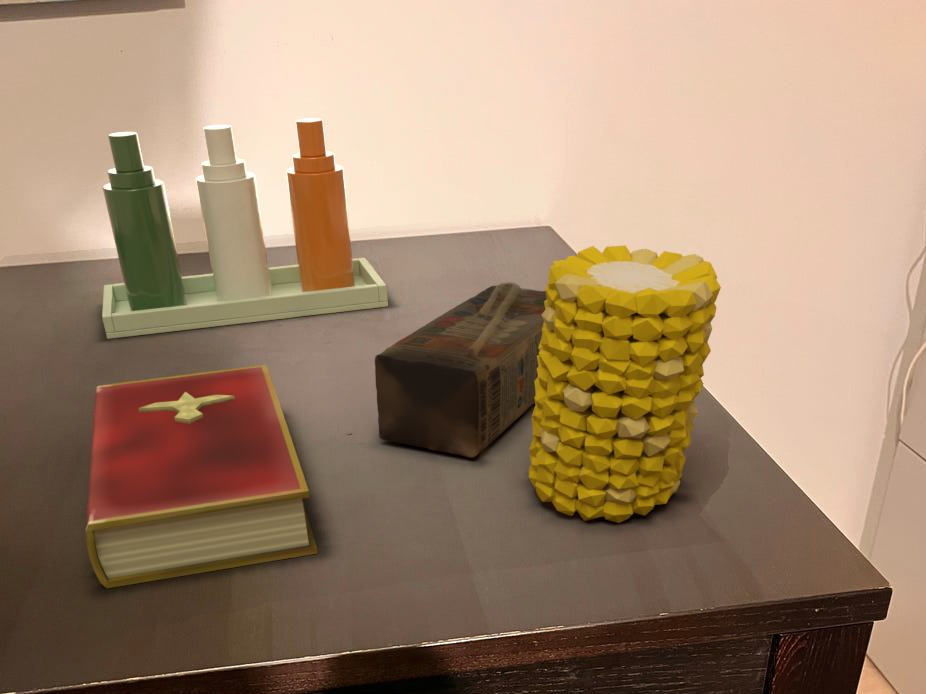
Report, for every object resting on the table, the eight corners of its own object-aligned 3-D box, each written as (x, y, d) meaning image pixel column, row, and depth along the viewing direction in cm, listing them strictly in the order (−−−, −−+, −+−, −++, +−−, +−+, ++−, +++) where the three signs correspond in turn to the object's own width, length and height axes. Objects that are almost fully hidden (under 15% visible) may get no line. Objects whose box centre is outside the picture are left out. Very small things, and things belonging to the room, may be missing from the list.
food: (574, 471, 69) (706, 518, 64) (467, 499, 60) (611, 557, 55) (622, 233, 62) (773, 265, 57) (510, 226, 53) (678, 263, 48)
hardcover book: (98, 589, 55) (78, 521, 52) (104, 439, 72) (90, 382, 69) (317, 553, 57) (308, 486, 55) (274, 416, 74) (266, 360, 72)
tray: (107, 339, 90) (101, 316, 89) (108, 305, 98) (103, 284, 97) (388, 306, 95) (386, 285, 94) (366, 277, 104) (365, 257, 103)
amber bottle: (291, 292, 98) (268, 121, 90) (333, 280, 101) (315, 113, 93) (323, 302, 95) (302, 126, 87) (366, 290, 98) (350, 118, 90)
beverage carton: (581, 368, 80) (583, 283, 77) (479, 465, 66) (476, 368, 63) (490, 356, 83) (488, 274, 79) (374, 447, 69) (365, 352, 65)
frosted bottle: (207, 301, 97) (175, 128, 88) (253, 289, 100) (226, 120, 91) (237, 312, 94) (207, 133, 85) (283, 299, 96) (259, 125, 88)
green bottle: (121, 311, 95) (80, 135, 86) (170, 298, 98) (135, 127, 89) (148, 322, 92) (109, 141, 83) (198, 309, 95) (165, 132, 86)
